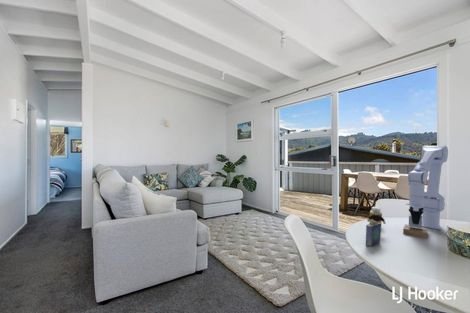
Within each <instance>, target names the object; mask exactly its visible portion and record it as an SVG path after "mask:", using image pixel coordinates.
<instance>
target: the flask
mask: <svg viewBox="0 0 470 313" xmlns="http://www.w3.org/2000/svg"><path fill="white" fill-rule="evenodd" d="M371 220H372V221H371ZM371 220H370V221H371V223H370V221H369V223H370V224H369V223H368V224H366V226H365V227H366V229H365V246H366V247H374V246H376V245H379V244H381V232H382V230H381V229H382V224H381V223H379V222H375V221H374V220H373V219H371Z"/></svg>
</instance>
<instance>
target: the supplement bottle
mask: <svg viewBox="0 0 470 313" xmlns="http://www.w3.org/2000/svg"><path fill="white" fill-rule="evenodd" d="M374 208H378V209H379V210H380V211H381V208H380V207H378V206H372V207H371V210H370V211H369V217H370V216H371V215H374V213H373V209H374ZM379 216H381V217H382V218H383V213H382V211H381V212H380V213H379ZM371 221H372V220H371ZM371 221H369V222H368V224H370V223H371ZM380 223H381V225H382V223H383V222H382V221H381V220H380Z"/></svg>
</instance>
